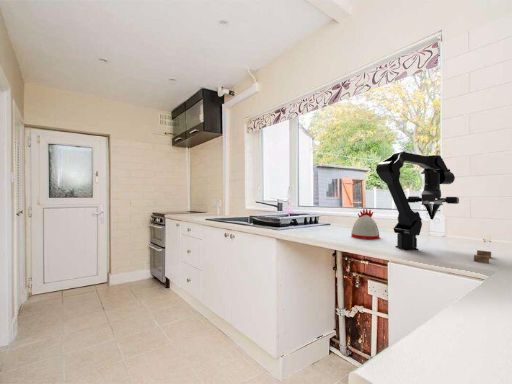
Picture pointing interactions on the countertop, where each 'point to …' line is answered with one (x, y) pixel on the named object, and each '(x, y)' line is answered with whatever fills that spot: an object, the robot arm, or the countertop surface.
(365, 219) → the grey red beanie hat
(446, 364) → the countertop surface
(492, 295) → the countertop surface
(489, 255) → the wooden blocks
